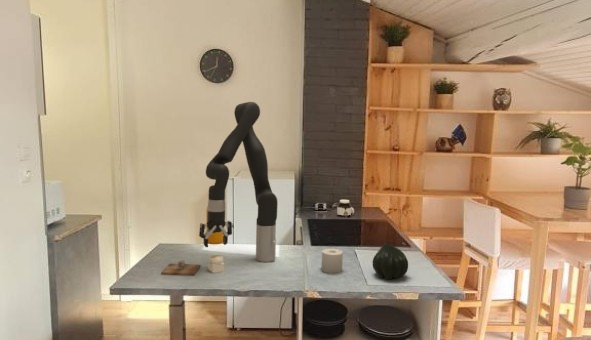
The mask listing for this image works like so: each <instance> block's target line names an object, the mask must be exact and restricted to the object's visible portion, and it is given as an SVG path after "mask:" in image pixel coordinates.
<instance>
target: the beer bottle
mask: <svg viewBox="0 0 591 340" xmlns="http://www.w3.org/2000/svg"><path fill="white" fill-rule="evenodd" d="M207 217H208V205H207V207H206V218H207ZM207 222H208V220H207V219H206V223H207ZM207 229H208V227H207V226H206V230H207ZM223 236H224V235H223V233H222V232H216V233H212V234H211V235H210V236H209V237H208V238H207V239H208V245H221V244H223Z"/></svg>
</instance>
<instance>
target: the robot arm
mask: <svg viewBox="0 0 591 340" xmlns="http://www.w3.org/2000/svg"><path fill="white" fill-rule="evenodd" d="M233 114H234V119H235V121H236V124H237V125H236V126H235V128H234V129H233V130H232V131H231V132H230V133H229V134H228V136H226V138H225V139H224V141H223V143H222V144H221V146H220V149H218V152H217V153H216V154H215V155H214V156H213V158H212V159H211V160H210V161H209V163H208V164H207V166H206V168H205V175H206V177H207V178H208V179H210V180H215V182H214V185H213V184H212V185H211V186H209V187H208V188H209V189H208V197H207V198H208V200H207V206H208V217H207V216H206V223H200V224H199V234H198V236H199V237H200V238H201V239H203V246H204V247H205V248H208V247H209V244H208V239H207V238H208V237H209V236H210V235H211V234H212V233H216V232H222V233H223V235H224V236H223V243H222V245H224V246H226V245H227V244H228V243H229V242H228V240H229V239H228V237H229V236H231V235H232V234H233V228H232V227H233V223H232V221H231V220H227V221H225V220H226V189H227V185H228V181H229V177H230V170H229V168H228V166H227V165H226V164H228V163H231V162H232V161H233V160H234V157H235V156H236V154H237V152H238V150H239V148H240V146H241V144H242V146H243V147H244V152H245V159H246V163H247V165H248V169H249V172H250V176H251V179H252V181H253V188H254V194H255V203H256V205H257V218H256V223H255V224H256V225H255V226H256V230H255V231H256V232H255V233H256V235H255V238H256V240H255V260H256V261H258V262H261V263H269V262H275V261H276V257H277V256H276V255H277V254H276V253H277V251H276V249H277V248H276V246H277V244H276V243H277V239H276V232H277V231H276V229H277V227H276V225H277V224H276V223H277V219H278V198H277V196H276V194H274V192H273V190H272V187H271V185H270V180H269V170H268V169H269V167H268V165H269V164H268V159H267V154H266V150H265V147H264V145H263V143H262V142H261V141H260V139H259V138H258V136H257V134H256V132H255V130H254V127H253V126H254V125H255V124H256V122H257V121H258V119H259V118H260V115H261V108H260V106H259V105H258V103H256V102H254V101H247V102H243V103H239V104H237V105H236V106H235V107H234V113H233ZM207 220H208V222H207ZM225 226H226V229H227V231H226V229H224V228H225ZM207 227H208V229H207ZM205 229H206V230H205Z"/></svg>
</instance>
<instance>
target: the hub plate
mask: <svg viewBox="0 0 591 340" xmlns="http://www.w3.org/2000/svg"><path fill="white" fill-rule="evenodd" d="M185 262H186V261H185V260H179V261H178V262H177V263H169V264H168V265H167V266H166V267H164V269H163V270H162V271H161V272H160V275H163V276H165V275H166V276H167V275H168V276H190V277H191V276H195V275H196V274H197V272H198V271H199V269H200V268H201V266H202V265H201V264H194V263H193V264H192V263H191V264H190V263H189V264H188V263H185Z"/></svg>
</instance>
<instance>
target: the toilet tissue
mask: <svg viewBox="0 0 591 340" xmlns="http://www.w3.org/2000/svg"><path fill="white" fill-rule="evenodd" d="M343 256H344V254H343V250H341V249H337V248H325V249H323V250H322V251H321V272H323V273H325V274H329V275H330V274H331V275H337V274H340V273H342V272H343V259H344V258H343Z"/></svg>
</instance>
